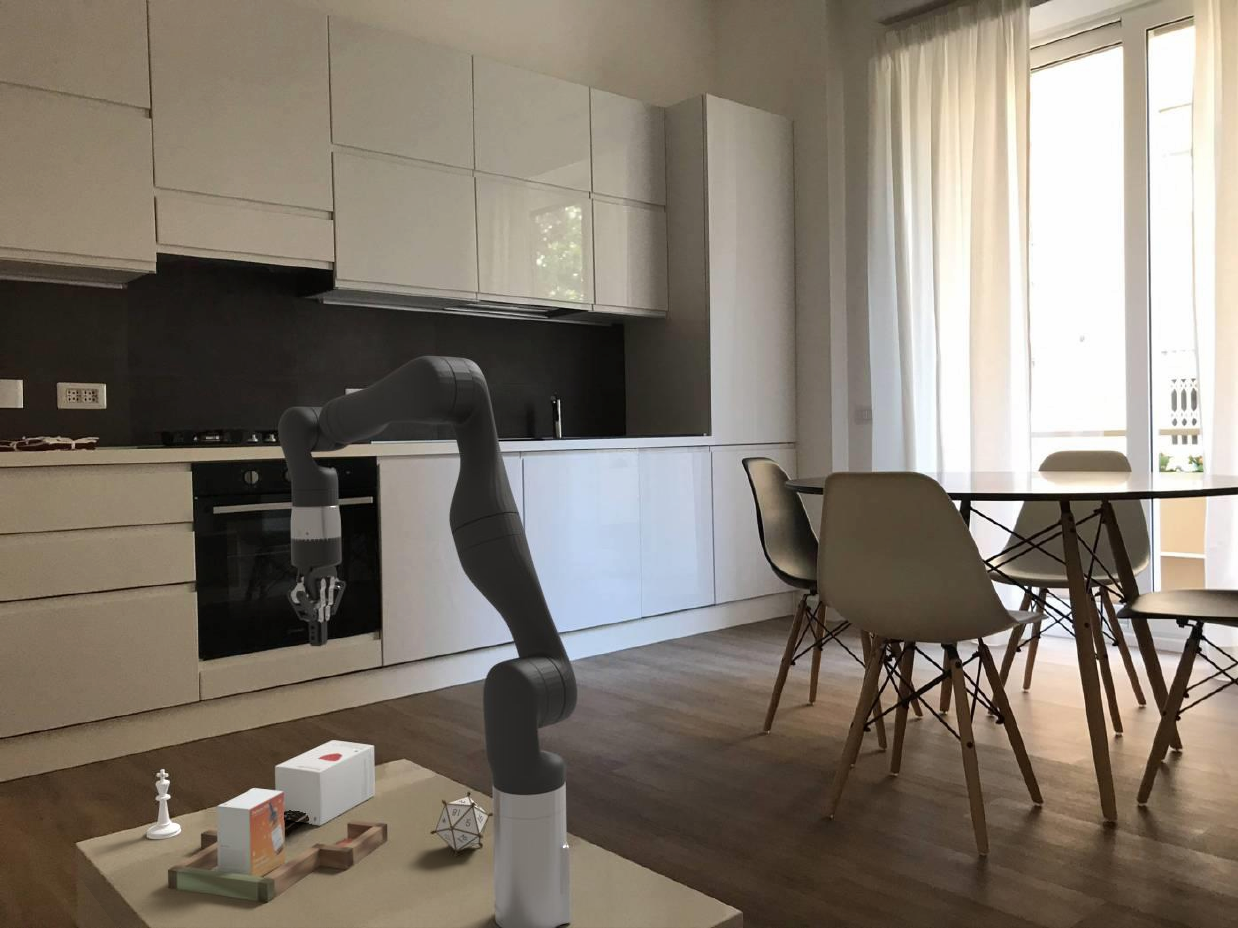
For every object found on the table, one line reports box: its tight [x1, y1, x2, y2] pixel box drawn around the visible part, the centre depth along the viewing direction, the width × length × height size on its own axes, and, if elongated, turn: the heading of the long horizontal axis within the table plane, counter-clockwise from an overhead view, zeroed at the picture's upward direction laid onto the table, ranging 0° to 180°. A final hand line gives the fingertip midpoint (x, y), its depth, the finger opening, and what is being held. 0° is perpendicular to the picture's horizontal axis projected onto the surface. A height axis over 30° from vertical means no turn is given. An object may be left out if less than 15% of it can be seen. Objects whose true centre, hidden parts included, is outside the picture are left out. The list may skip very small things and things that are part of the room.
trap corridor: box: [167, 819, 389, 903], centre depth 149 cm, size 23×25×2 cm
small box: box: [216, 787, 286, 877], centre depth 146 cm, size 8×6×10 cm
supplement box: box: [274, 739, 376, 827], centre depth 171 cm, size 9×9×15 cm
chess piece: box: [146, 769, 182, 840], centre depth 160 cm, size 5×5×10 cm
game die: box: [429, 790, 493, 858], centre depth 153 cm, size 9×8×10 cm
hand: (318, 645), depth 161 cm, fingers closed
